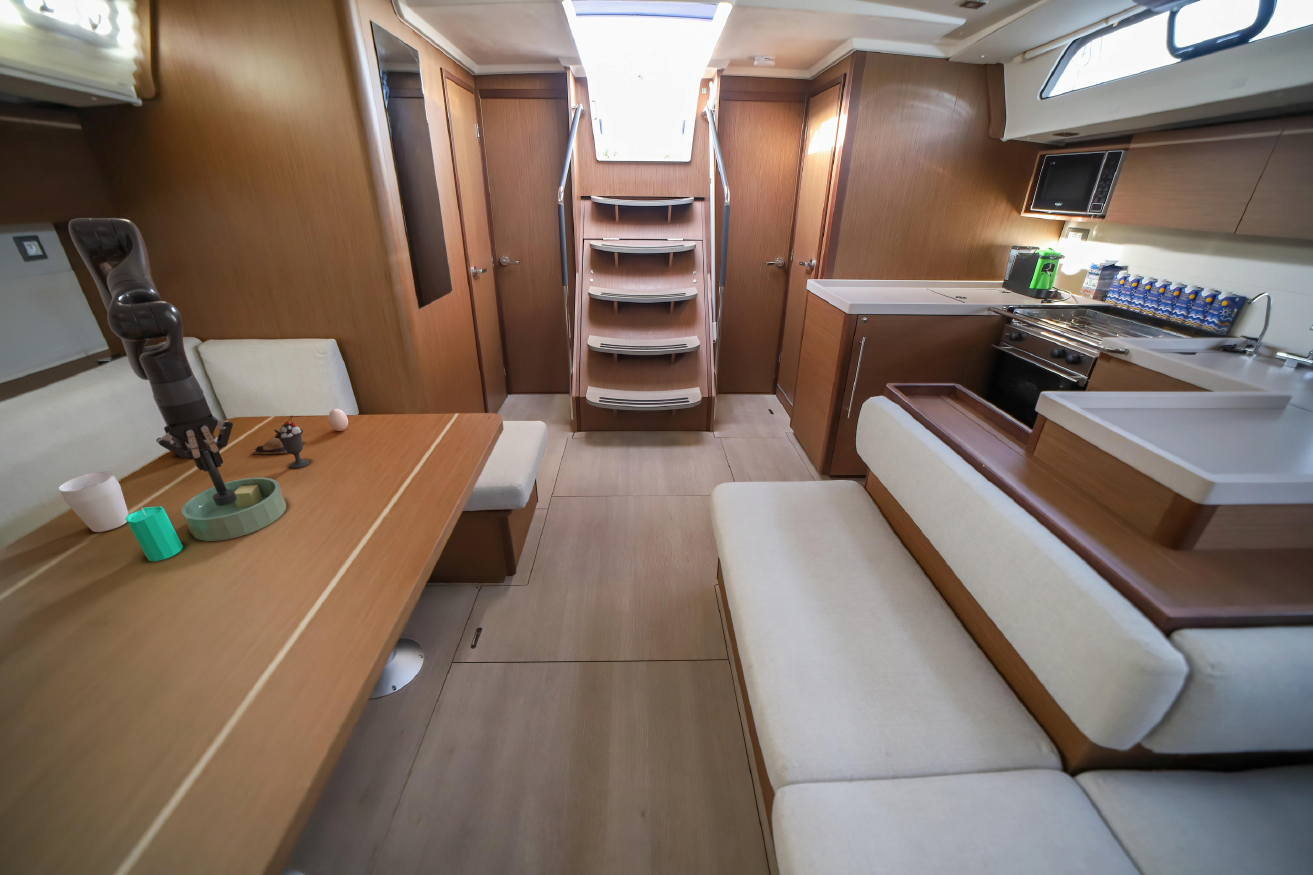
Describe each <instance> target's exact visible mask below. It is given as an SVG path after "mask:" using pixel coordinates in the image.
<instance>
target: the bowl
mask: <svg viewBox="0 0 1313 875" xmlns="http://www.w3.org/2000/svg"><path fill="white" fill-rule="evenodd" d="M224 484H225V486H226V489H227V490H234V492H235V491H236V490H237V489H238V488H239V487H240V486H248V485H258V487H259V489H260V492H261V494H262V497H263V498H262V499H261V500H260V501H259V502H258V503H257V504H256V505H254V506H251V507H240V508H237V506H236V503H235V501H234V502H233V503H230V504H227V505H223V506H218V505H216V504H215V502H214V499H213V495H214V494H216V493H217V491H216V489H215V486H214V485H213V486H211V487H210V488H207V489H205V490H203V491H201V492H199V493H197V494H195V495H194V496H192V497H191V498H189V499H188V500H187V501H186V502H185V503H184V504H183V506H182V507H181V509H180V511H181V516H182V518H183V520H184V522H185V524H186V527H187V529H188V531H189V532H190V535H192V536H193V537H194V538H195V539H197V540H199V541H203V542H205V541H206V542H219V541H226V540H227V541H228V540H231V539H236V538H239V537H244V536H246V535H249V534H252V533H254V532H257V531H259V530H261V529H264V528H265V527H267V526H269V525H270V524H272V523H274V522H275V521H277V520H278V519H280V517H281V516H282V515H283V514H284V513H285V512H286V509H287V502H286V500H285V497H284V494H283V491H282V489H281V486H280V484H279V482H278V481H277V480H276V479H273V478H269V477H260V476H259V477H257V476H256V477H254V476H253V477H246V478H239V479H235V480H230V481H227V482H224Z"/></svg>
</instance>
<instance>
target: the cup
mask: <svg viewBox="0 0 1313 875" xmlns="http://www.w3.org/2000/svg"><path fill="white" fill-rule="evenodd" d="M58 490H59V492H60V494H61V496H62V498H63V501H64V502H65V503H66V504H67V505H68V507H69V508H70V509H71V510H72V511H73V512H74V513H75V514H76V515H77V517H79V519H80V520H81V521H82V522H83V523H84V524H85V525H86V526H87V527H88V528H89V529H90V530H91V532H95V533H102V532H103V533H104V532H107V531H111V530H114V529H117V528H119V527H121V526H123V525H125V524H127V521H126V517H127V516H128V514H130V513H129V510H128V507H127V503H126V501H125V496H124V494H123V490H122V487H121V484H120V483H119V481H118V480H117V478H116V477H115V475H114V474H113V473H112V472H110V471H97V472H92V473H87V474H84V475H80V476H77V477H74V478H72V479H69V480H67V481H65V482H64V483H62V484H61V485H60V486H59V487H58Z"/></svg>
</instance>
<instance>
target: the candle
mask: <svg viewBox="0 0 1313 875" xmlns="http://www.w3.org/2000/svg"><path fill="white" fill-rule="evenodd" d="M140 508H141V509H139V510H137V511H134V512H132V513H129V514H128V516H127V517H126V521H127V522H126V524H127V525H128V526H129V528H130V531H131V532H132V535H133V536H134V538H135V539H136V541H137V543H138V545H139V546H140V549H141V550H142V552H143V553H144V555H145V557H146V559H147V560H148V561H149V562H159V561H162V560H166V559H169V558H171V557H174V556H175V555H177V554H178V553H180V552H181V551H182V549H183V548H184V546H183V544H182V542H181V540H180V538H179V535H178V533H177V532H176V530H175V528H174V526H173V524H172V522H171V520H170V518H169V515H168V514H167V512H166V510H165V508H164V507H163V506H162V505H159V506H145V507H142V506H141V507H140Z"/></svg>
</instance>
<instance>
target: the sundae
mask: <svg viewBox="0 0 1313 875" xmlns="http://www.w3.org/2000/svg"><path fill="white" fill-rule="evenodd" d="M293 417H294V415H290V416H289V419H288V420H286V421H285V422H284V423H283V424H282V425H280V427H279V430H278V429H273V432H275V433H276V434H275V435H274V438H277V439H279V440H280V441H281V443H282V444H283V446H284V448H285V450H286V451H287V452H288V453H287V454H290V455H293V456H294V459H295V461H293V462H292V463H290V465H289V467H290V469H300V468H304V467H306V466H308V465H309V464H310V460H309V459H302V457H301V455H300V453H301V452H302V451H303V449H304V445H303V444H304V443H303V438H302V434H303V433H304V430H303V429H302V428H300V427H299V426H296V423H294V422H293V420H292V419H293ZM289 421H290V422H291V423H290V422H289Z"/></svg>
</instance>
